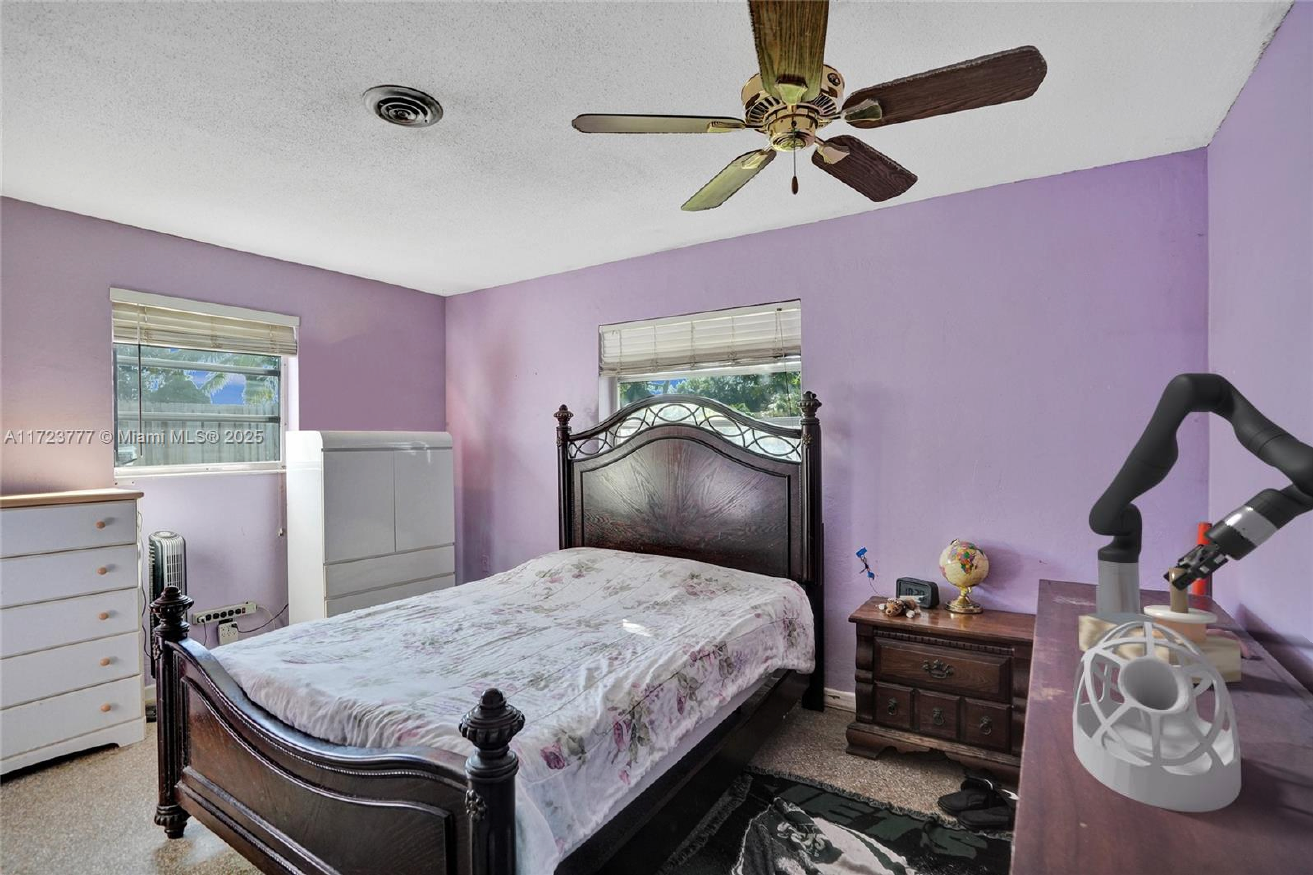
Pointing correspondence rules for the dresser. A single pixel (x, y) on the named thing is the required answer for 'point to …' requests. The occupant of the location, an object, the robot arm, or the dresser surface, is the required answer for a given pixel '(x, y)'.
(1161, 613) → the lid
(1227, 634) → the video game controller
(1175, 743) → the lampshade
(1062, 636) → the dresser surface
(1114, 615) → the mat
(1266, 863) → the dresser surface
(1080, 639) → the riser
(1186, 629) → the bowl
